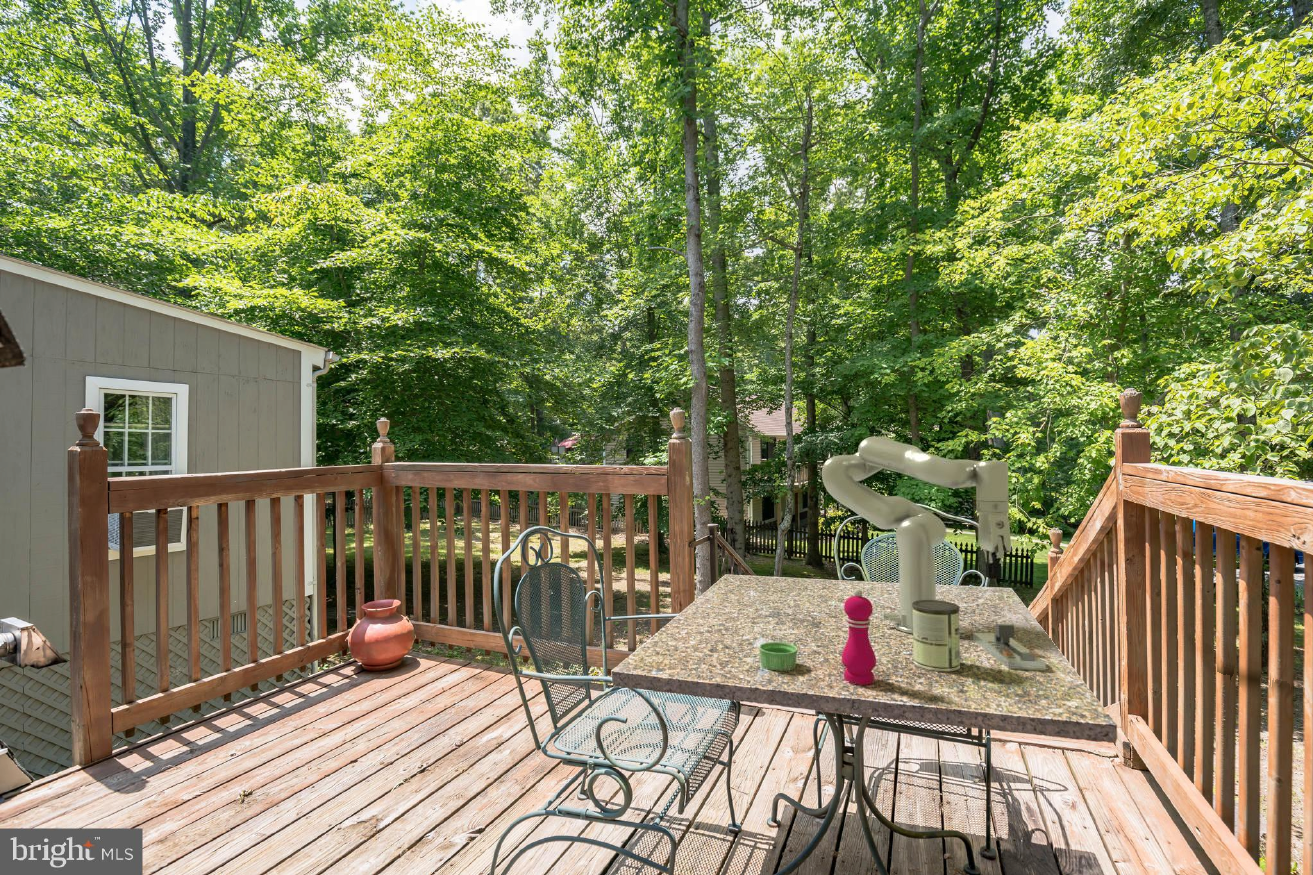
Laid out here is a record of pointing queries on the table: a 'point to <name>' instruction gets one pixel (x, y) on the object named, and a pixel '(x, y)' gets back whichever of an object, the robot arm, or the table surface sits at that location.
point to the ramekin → (778, 655)
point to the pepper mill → (858, 641)
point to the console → (1009, 652)
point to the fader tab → (1005, 632)
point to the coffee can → (936, 635)
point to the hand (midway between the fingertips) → (993, 577)
